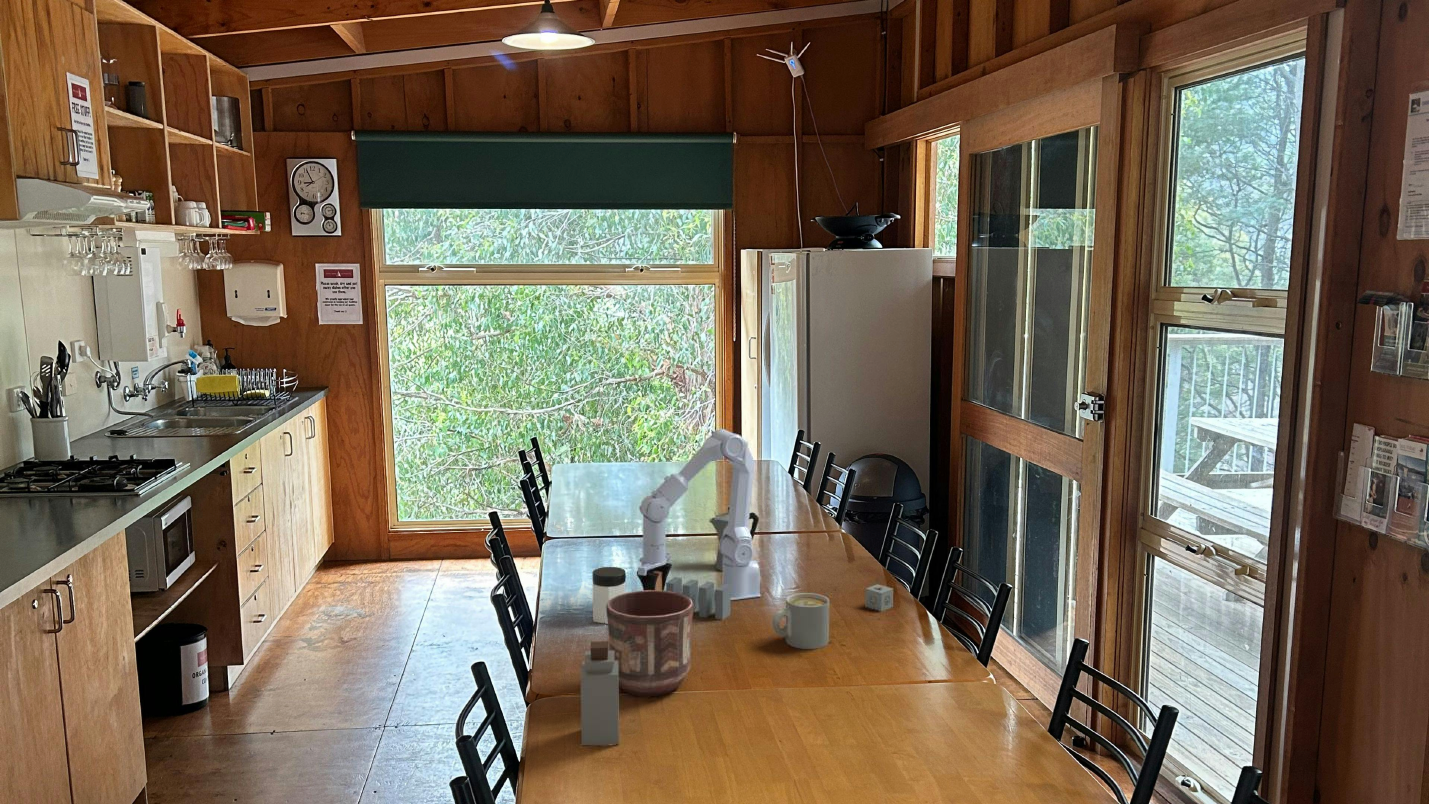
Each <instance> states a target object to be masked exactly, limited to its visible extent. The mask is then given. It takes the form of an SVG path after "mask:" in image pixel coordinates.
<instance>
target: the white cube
mask: <svg viewBox="0 0 1429 804" xmlns="http://www.w3.org/2000/svg"><path fill="white" fill-rule="evenodd" d="M864 596H865V597H864V600H865V601H864V602H865V603H864V606H865V607H864V608H867V607H868V608H867V609H870V608H871V610H873V609H875V610H874V611H877V610H878V611H877V612H880V611H882V612H884V611H887V610H889V608H890V609H892V608H893V607H894V588H892V587H888V586H886V585H885V586H884V585H882V584H873V585H871V586H869V587H866V588H865V595H864ZM891 607H892V608H891ZM886 609H887V610H886ZM883 610H884V611H883Z"/></svg>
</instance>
